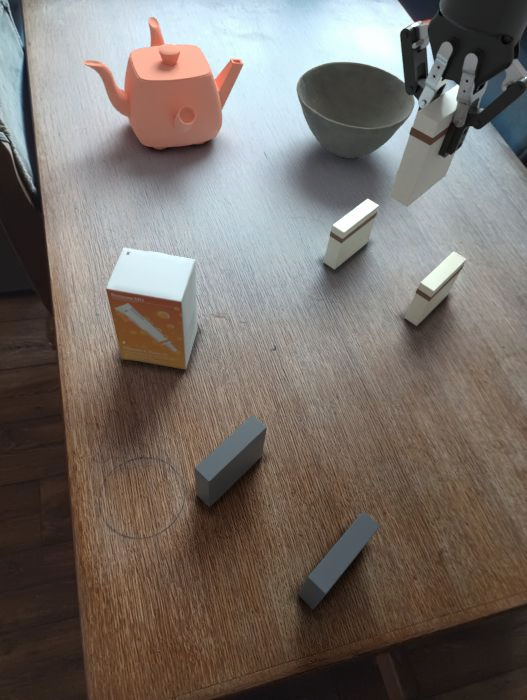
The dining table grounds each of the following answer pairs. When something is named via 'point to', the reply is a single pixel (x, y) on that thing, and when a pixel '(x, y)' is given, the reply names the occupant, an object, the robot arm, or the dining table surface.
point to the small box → (154, 307)
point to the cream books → (355, 235)
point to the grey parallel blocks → (240, 457)
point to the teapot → (170, 92)
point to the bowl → (353, 106)
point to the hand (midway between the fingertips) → (432, 145)
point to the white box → (425, 150)
